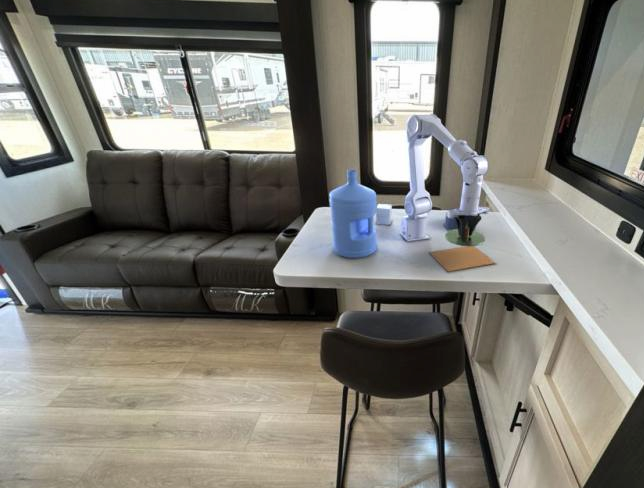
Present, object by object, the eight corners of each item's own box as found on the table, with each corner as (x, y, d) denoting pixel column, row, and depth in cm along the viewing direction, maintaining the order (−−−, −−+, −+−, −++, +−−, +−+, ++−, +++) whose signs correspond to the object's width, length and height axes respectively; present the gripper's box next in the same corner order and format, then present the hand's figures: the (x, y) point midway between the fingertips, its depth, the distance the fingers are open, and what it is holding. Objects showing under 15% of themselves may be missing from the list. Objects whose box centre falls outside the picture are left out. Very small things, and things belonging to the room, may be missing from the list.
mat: (448, 271, 99) (448, 270, 99) (430, 253, 111) (430, 252, 111) (494, 263, 105) (494, 262, 105) (472, 246, 116) (472, 245, 116)
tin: (453, 233, 126) (455, 221, 124) (440, 222, 136) (441, 211, 133) (479, 230, 130) (481, 218, 127) (464, 220, 140) (465, 208, 137)
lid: (457, 250, 97) (458, 237, 95) (438, 234, 108) (439, 221, 106) (492, 245, 101) (494, 232, 99) (470, 229, 112) (472, 218, 110)
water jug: (325, 253, 108) (316, 173, 94) (347, 237, 120) (343, 163, 106) (364, 262, 103) (362, 179, 89) (383, 244, 116) (384, 168, 102)
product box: (378, 219, 138) (378, 203, 134) (391, 220, 137) (392, 204, 134) (376, 224, 133) (375, 208, 129) (389, 225, 132) (390, 209, 128)
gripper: (456, 202, 91) (451, 243, 98) (497, 198, 96) (489, 237, 103) (445, 195, 97) (441, 234, 104) (484, 191, 102) (478, 229, 109)
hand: (464, 235), depth 104 cm, fingers closed on lid, 2 cm apart
